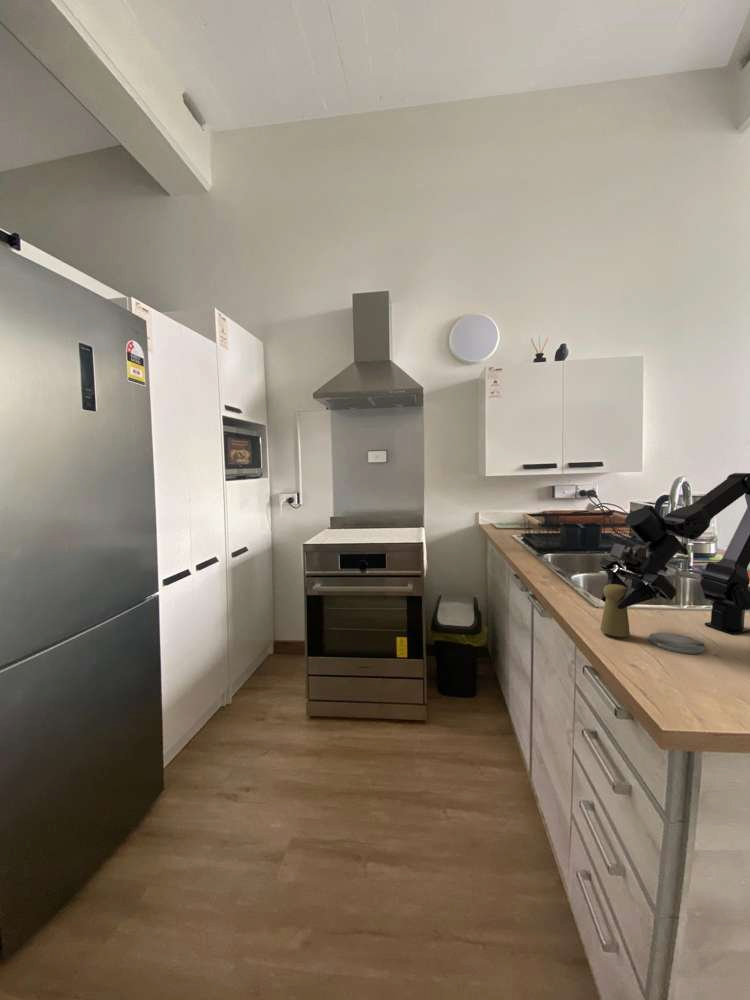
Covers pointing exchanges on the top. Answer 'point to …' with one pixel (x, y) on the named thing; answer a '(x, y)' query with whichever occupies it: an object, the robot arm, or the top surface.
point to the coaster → (677, 643)
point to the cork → (614, 612)
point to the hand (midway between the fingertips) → (610, 604)
